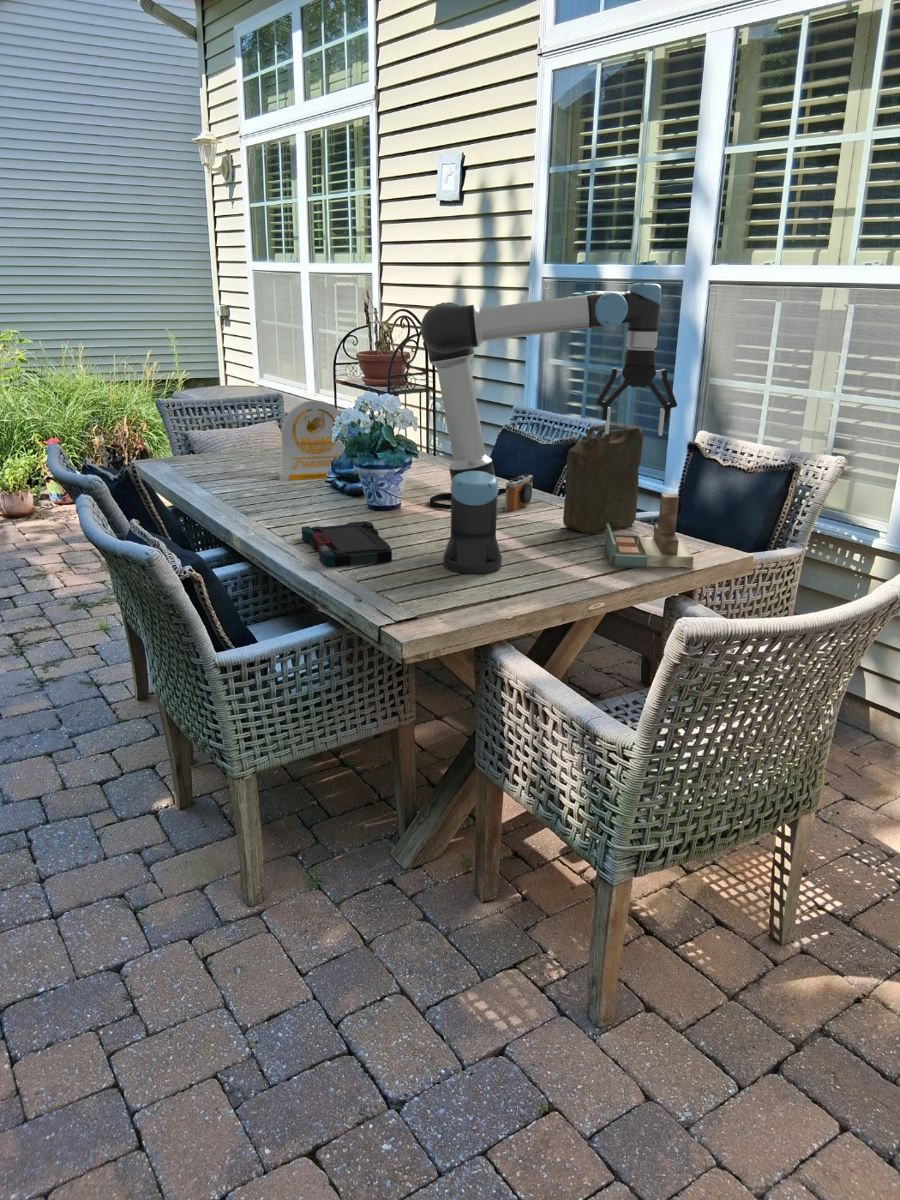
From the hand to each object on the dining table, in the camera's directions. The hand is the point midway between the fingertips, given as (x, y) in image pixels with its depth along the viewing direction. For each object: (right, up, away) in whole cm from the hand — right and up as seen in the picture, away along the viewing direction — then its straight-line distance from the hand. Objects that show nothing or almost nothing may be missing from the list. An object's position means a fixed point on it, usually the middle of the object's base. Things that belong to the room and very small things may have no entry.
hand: (633, 434), depth 229 cm
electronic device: (-75, -29, +13) cm, 82 cm away
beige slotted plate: (+10, -31, +10) cm, 35 cm away
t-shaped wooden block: (+10, -28, +9) cm, 32 cm away
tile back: (+1, -29, +15) cm, 32 cm away
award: (-97, +3, +100) cm, 139 cm away
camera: (-36, -11, +65) cm, 76 cm away
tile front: (0, -32, +6) cm, 32 cm away
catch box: (0, -31, +11) cm, 33 cm away
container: (-2, -21, +39) cm, 44 cm away
